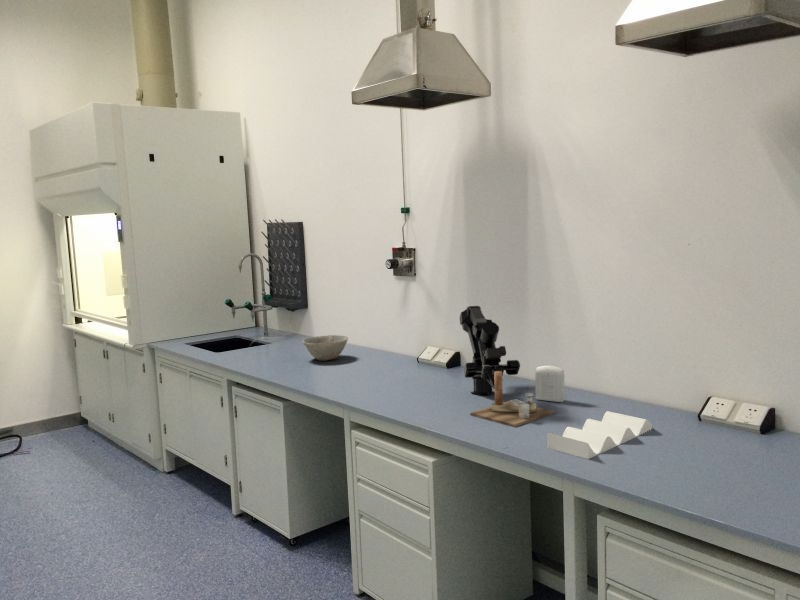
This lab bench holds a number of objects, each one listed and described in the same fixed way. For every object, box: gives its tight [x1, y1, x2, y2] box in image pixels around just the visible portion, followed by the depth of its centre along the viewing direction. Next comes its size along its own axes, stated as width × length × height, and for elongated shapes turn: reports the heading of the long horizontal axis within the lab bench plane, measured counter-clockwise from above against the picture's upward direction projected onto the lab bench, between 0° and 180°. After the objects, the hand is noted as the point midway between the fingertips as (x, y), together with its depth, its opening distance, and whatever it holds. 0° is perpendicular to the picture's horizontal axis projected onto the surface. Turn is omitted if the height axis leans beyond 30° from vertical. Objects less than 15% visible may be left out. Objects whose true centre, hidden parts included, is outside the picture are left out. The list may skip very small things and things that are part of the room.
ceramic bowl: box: [301, 334, 349, 362], centre depth 324 cm, size 22×23×10 cm
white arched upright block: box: [535, 365, 565, 403], centre depth 236 cm, size 10×4×12 cm, turn 60°
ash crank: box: [490, 371, 537, 413], centre depth 221 cm, size 15×4×13 cm, turn 76°
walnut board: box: [469, 400, 555, 428], centre depth 221 cm, size 19×20×1 cm
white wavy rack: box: [546, 410, 654, 460], centre depth 194 cm, size 13×35×5 cm, turn 131°
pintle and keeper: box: [509, 392, 534, 419], centre depth 217 cm, size 8×7×6 cm
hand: (496, 389), depth 225 cm, fingers closed
